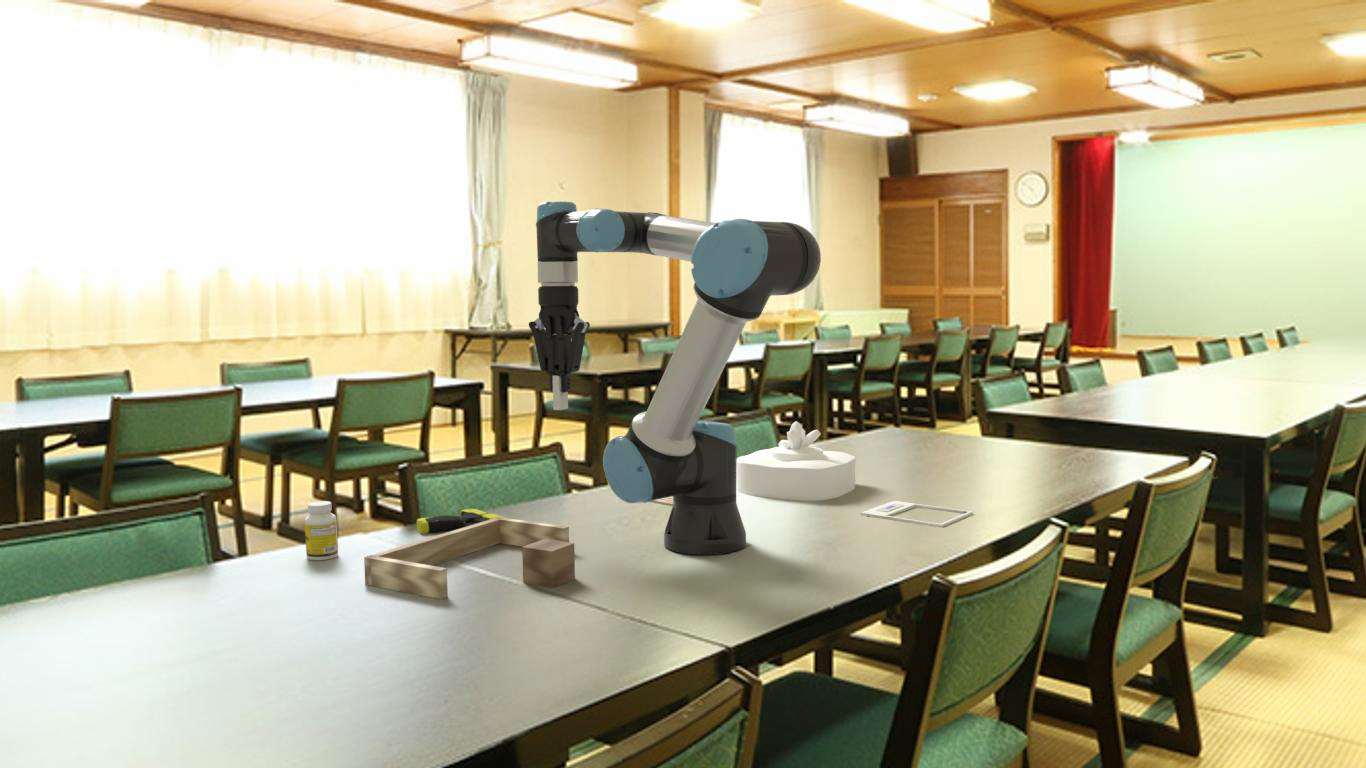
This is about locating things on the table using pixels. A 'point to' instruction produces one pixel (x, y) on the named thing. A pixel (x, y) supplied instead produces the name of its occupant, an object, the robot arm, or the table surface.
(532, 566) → the cube
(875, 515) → the photo frame
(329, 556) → the supplement bottle
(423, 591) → the bay
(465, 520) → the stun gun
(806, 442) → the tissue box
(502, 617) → the table surface
